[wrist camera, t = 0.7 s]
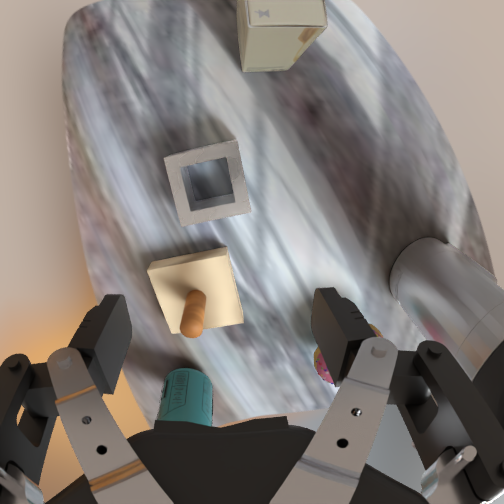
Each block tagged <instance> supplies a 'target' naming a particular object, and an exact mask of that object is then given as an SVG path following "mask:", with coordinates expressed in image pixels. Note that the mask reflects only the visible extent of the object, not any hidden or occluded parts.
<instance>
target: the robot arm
mask: <svg viewBox="0 0 504 504" xmlns="http://www.w3.org/2000/svg"><path fill="white" fill-rule="evenodd" d="M390 290H391V293H392V295H393V296H394V298H395V299H396V301H397V302H398V303H399V304H400V306H401V307H402V308H403V309H404V311H405V312H406V313H407V314H408V316H409V317H410V318H411V320H412V321H413V322H414V324H415V325H416V326H417V328H418V329H419V330H420V331H421V333H422V334H423V335H424V337H425V338H426V339H427V340H426V341H423V342H421V343H420V344H419V346H418V348H417V350H416V351H400V350H397V347H396V346H395V345H394V344H393V343H392V342H391V341H389V340H387V339H385V338H381V337H377V335H376V334H375V332H374V331H373V330H372V328H371V327H370V325H369V324H368V322H367V321H366V319H364V316H363V315H362V314H361V312H360V311H359V309H358V308H357V306H356V305H355V304H354V303H353V302H351V301H350V300H348V299H347V298H341V297H340V295H339V294H338V292H337V291H336V289H335V288H334V287H329V288H317V289H316V290H315V294H314V301H313V309H312V316H311V328H312V332H313V335H314V337H315V340H316V342H317V344H318V347H319V349H320V351H321V354H322V356H323V359H324V361H325V363H326V366H327V368H328V370H329V373H330V375H331V378H332V380H333V383H334V385H335V387H340V388H339V390H338V392H337V394H336V396H335V398H334V400H333V402H332V404H331V406H330V408H329V410H328V412H327V414H326V415H325V417H324V419H323V421H322V423H321V425H320V426H319V428H318V430H317V432H315V431H313V430H310V429H308V428H304V427H300V426H294V425H288V421H287V416H282V417H273V418H263V419H253V420H249V421H246V422H242V423H238V424H234V425H231V426H227V427H222V428H218V427H212V426H207V425H202V424H197V423H193V422H188V421H165V420H155V424H154V429H151V430H146V431H143V432H140V433H137V434H135V435H133V436H131V437H129V438H128V439H126V438H125V437H124V435H123V433H122V432H121V430H120V429H119V427H118V425H117V424H116V422H115V420H114V419H113V417H112V415H111V413H110V412H109V410H108V408H107V406H106V405H105V403H104V401H103V399H102V396H103V393H104V394H114V390H115V387H116V384H117V380H118V377H119V374H120V371H121V368H122V365H123V362H124V359H125V356H126V353H127V350H128V347H129V344H130V341H131V338H132V325H131V321H130V317H129V313H128V309H127V304H126V300H125V297H124V295H122V294H107V295H105V297H104V298H103V300H102V302H101V303H100V305H99V306H95V307H93V308H92V309H91V310H90V311H88V312H87V314H86V316H85V317H84V319H83V322H81V324H80V326H79V328H78V329H77V331H76V333H75V334H74V336H73V338H72V340H71V342H70V344H69V345H68V347H65V348H61V349H59V350H56V351H55V352H53V353H52V354H51V355H50V356H49V358H48V361H47V362H45V363H38V364H31V363H30V361H29V359H28V357H27V356H26V355H24V354H14V355H11V356H10V357H8V358H7V359H5V361H4V362H3V363H2V365H1V366H0V504H489V503H491V502H492V501H494V500H495V499H497V498H498V497H499V496H500V495H502V494H503V493H504V290H503V289H502V288H501V287H500V286H498V285H497V279H496V277H495V276H493V275H492V274H491V273H490V272H488V271H487V270H486V269H484V268H483V267H482V266H480V265H479V264H478V263H477V262H475V261H474V260H472V259H471V258H470V257H468V256H467V255H466V254H464V253H463V252H462V251H460V250H459V249H457V248H456V247H455V246H453V245H452V244H450V243H447V244H444V243H442V242H441V241H439V240H438V239H435V238H429V237H427V238H422V239H419V240H417V241H415V242H413V243H412V244H410V245H409V246H407V247H406V248H405V249H404V250H403V251H402V253H401V254H400V255H399V257H398V258H397V260H396V262H395V263H394V265H393V268H392V271H391V274H390ZM431 393H432V395H433V396H434V398H435V400H436V402H437V404H438V407H437V405H436V403H435V402H434V400H433V398H432V396H431ZM386 404H396V405H397V407H398V409H399V411H400V413H401V415H402V417H403V420H404V422H405V424H406V426H407V429H408V431H409V433H410V435H411V437H412V440H413V442H414V444H415V447H416V449H417V451H418V454H419V456H420V458H421V461H422V463H423V465H424V468H425V470H426V471H425V472H424V474H423V476H422V480H421V486H422V489H421V493H422V495H421V494H420V493H418V492H417V491H415V490H413V489H411V488H409V487H407V486H405V485H403V484H402V483H400V482H398V481H396V480H394V479H392V478H391V477H389V476H387V475H385V474H384V473H381V472H380V471H378V470H376V469H375V468H373V467H372V466H370V465H368V464H366V460H367V458H368V455H369V453H370V450H371V447H372V445H373V442H374V439H375V436H376V434H377V431H378V428H379V425H380V422H381V419H382V416H383V413H384V410H385V407H386ZM21 405H22V406H23V407H24V408H25V409H24V411H23V414H22V416H21V419H20V422H19V424H18V426H17V420H16V419H17V414H18V412H19V410H20V407H21ZM57 416H60V418H61V421H62V423H63V426H64V429H65V431H66V433H67V435H68V438H69V441H70V443H71V445H72V448H73V450H74V452H75V454H76V457H77V459H78V461H79V463H80V465H81V467H82V469H83V471H84V474H83V475H82V476H80V477H79V478H78V479H76V480H75V481H74V482H73V483H71V484H70V485H69V486H67V487H66V488H65V489H63V490H62V491H61V492H60V493H58V494H57V495H56V496H54V497H53V498H52V499H50V500H49V501H47V502H46V503H45V502H44V501H43V494H42V491H41V489H40V488H39V481H40V477H41V472H42V468H43V464H44V460H45V456H46V452H47V449H48V445H49V441H50V438H51V434H52V431H53V428H54V425H55V421H56V418H57Z"/></svg>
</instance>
